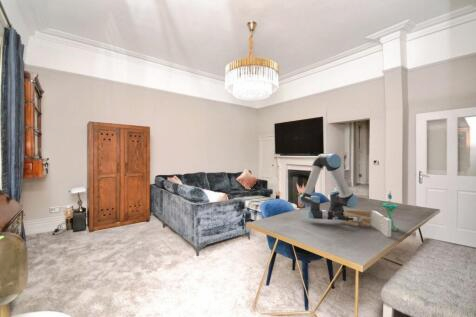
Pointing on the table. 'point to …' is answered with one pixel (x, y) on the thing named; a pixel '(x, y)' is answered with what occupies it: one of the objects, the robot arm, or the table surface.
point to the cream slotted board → (381, 223)
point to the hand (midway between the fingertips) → (354, 216)
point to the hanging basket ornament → (390, 211)
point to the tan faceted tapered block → (359, 214)
